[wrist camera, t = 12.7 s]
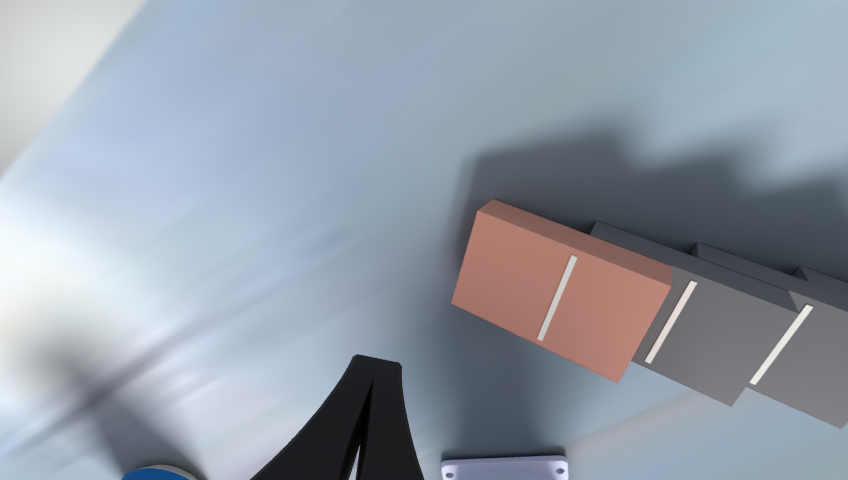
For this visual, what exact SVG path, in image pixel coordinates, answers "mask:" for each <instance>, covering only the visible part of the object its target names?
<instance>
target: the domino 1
mask: <svg viewBox="0 0 848 480" xmlns="http://www.w3.org/2000/svg"><path fill="white" fill-rule="evenodd" d="M590 236H593V237H596V238H598V239H601V240H604V241H606V242H609V243H611V244H614V245H617V246H619V247H622V248H625V249H627V250H630V251H633V252H635V253H638V254H641V255H643V256H646V257H648V258H651V259H654V260H656V261H659V262H662V263H664V264H667V265H670V266H672V287H671V289H670V290H669V292H668V294H667V296H666V298H665V299H664V301H663V303H662V305H661V307H660V309H659V310H658V312H657V314H656V316H655V318H654V319H653V321H652V323H651V325H650V327H649V328H648V330H647V332H646V334H645V336H644V337H643V339H642V341H641V343H640V345H639V347H638V348H637V350H636V352H635V354H634V356H633V357H632V359H631V361H633V362H635V363H637V364H639V365H641V366H644V367H646V368H648V369H650V370H652V371H654V372H657V373H659V374H661V375H663V376H665V377H668V378H670V379H672V380H674V381H676V382H678V383H681V384H683V385H685V386H687V387H689V388H691V389H694V390H696V391H698V392H700V393H702V394H704V395H707V396H709V397H711V398H713V399H715V400H718V401H720V402H722V403H724V404H726V405H728V406H731V407H732V405H733V404H734V403H735V401H736V400H737V398H738V397H739V396H740V394H741V393H742V392H743V390H744V389H745V388H746V386H747V385H748V384H749V382H750V381H751V379H752V378H753V377H754V375H755V374H756V373H757V371H758V370H759V369H760V367H761V366H762V364H763V363H764V362H765V360H766V359H767V358H768V356H769V355H770V354H771V352H772V351H773V350H774V348H775V347H776V345H777V344H778V343H779V341H780V340H781V339H782V337H783V336H784V335H785V333H786V332H787V331H788V329H789V328H790V326H791V325H792V324H793V322H794V321H795V320H796V318H797V317H798V316H799V312H798V309H797V307H796V305H795V303H794V301H793V299H792V297H791V295H790V293H789V291H786V290H783V289H781V288H778V287H775V286H772V285H770V284H767V283H764V282H762V281H759V280H756V279H753V278H751V277H748V276H745V275H743V274H740V273H737V272H734V271H732V270H729V269H726V268H724V267H721V266H718V265H715V264H713V263H710V262H707V261H705V260H702V259H699V258H696V257H694V256H691V255H688V254H686V253H683V252H680V251H677V250H675V249H672V248H669V247H667V246H664V245H661V244H658V243H656V242H653V241H650V240H648V239H645V238H642V237H639V236H637V235H634V234H631V233H629V232H626V231H623V230H620V229H618V228H615V227H612V226H610V225H607V224H604V223H601V222H599V221H596V223H595V225H594V227H593V229H592V231H591V233H590Z"/></svg>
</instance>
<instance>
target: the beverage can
mask: <svg viewBox="0 0 848 480" xmlns="http://www.w3.org/2000/svg"><path fill="white" fill-rule="evenodd" d="M122 480H198V479H197V478H196V477H195V476H193V475H192V474H190V473H188V472H187V471H185V470H182V469H180V468H177V467H174V466H169V465H152V466H148V467H144V468H138V469H135V470H132V471H130V472H129V473H127V474H126V475H125V476H124V477H123V478H122Z"/></svg>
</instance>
